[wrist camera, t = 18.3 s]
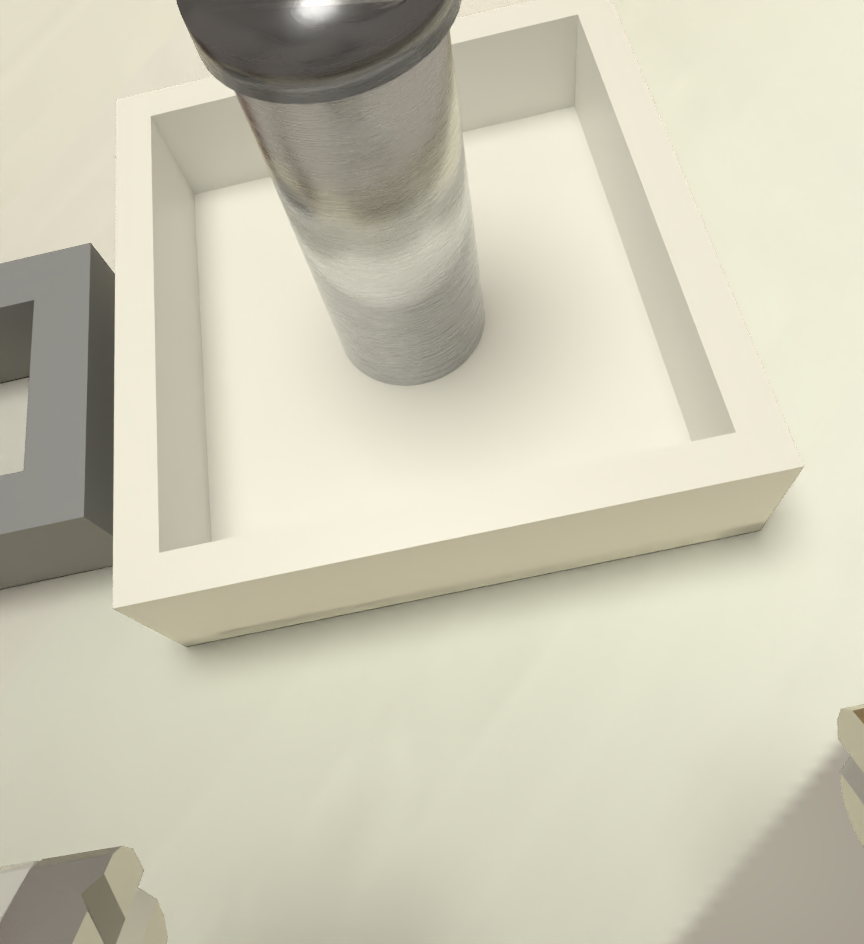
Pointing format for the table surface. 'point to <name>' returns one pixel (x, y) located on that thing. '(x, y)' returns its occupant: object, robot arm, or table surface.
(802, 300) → the table surface
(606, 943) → the table surface
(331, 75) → the salt shaker
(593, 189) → the tray
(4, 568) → the holder
